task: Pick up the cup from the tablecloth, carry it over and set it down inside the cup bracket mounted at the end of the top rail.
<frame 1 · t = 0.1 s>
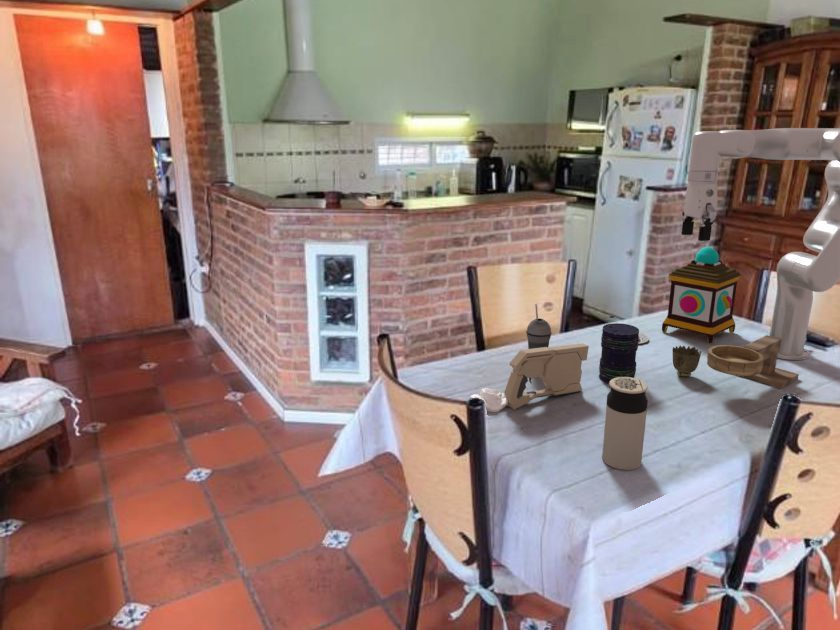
hand: (695, 237, 170), 37 cm above the table, tool pointing down, fingers open, 9 cm apart
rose: (489, 404, 153), on the table, touching gun
storage jar: (616, 379, 167), on the table
cup: (683, 376, 167), on the table
beige low round piece: (629, 340, 198), on the table
travel mug: (621, 461, 126), on the table
rail cup bracket: (729, 394, 155), on the table
gun: (546, 398, 156), on the table, touching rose
decorative lantern: (697, 333, 202), on the table
beverage cup: (537, 369, 175), on the table
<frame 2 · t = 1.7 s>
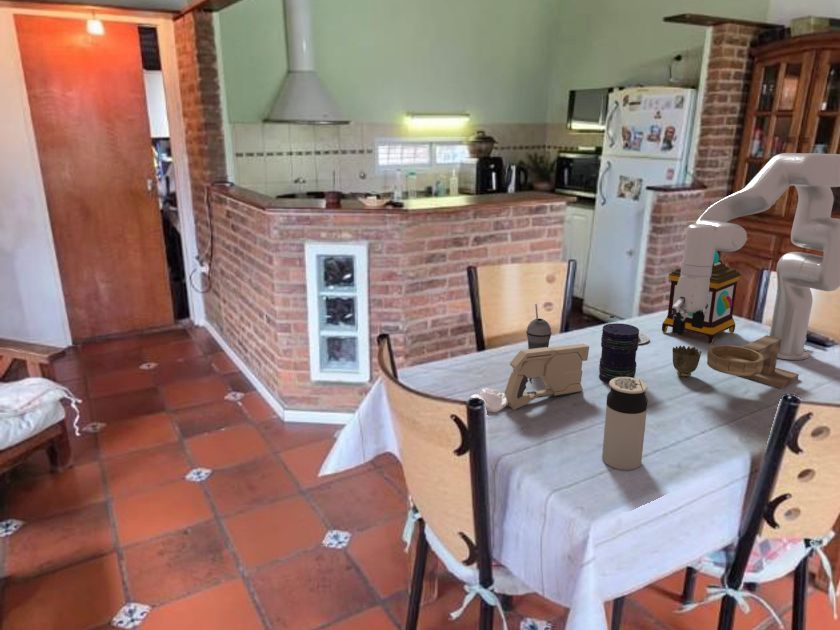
hand: (687, 330, 163), 14 cm above the table, tool pointing down, fingers open, 9 cm apart
nothing on the table moved.
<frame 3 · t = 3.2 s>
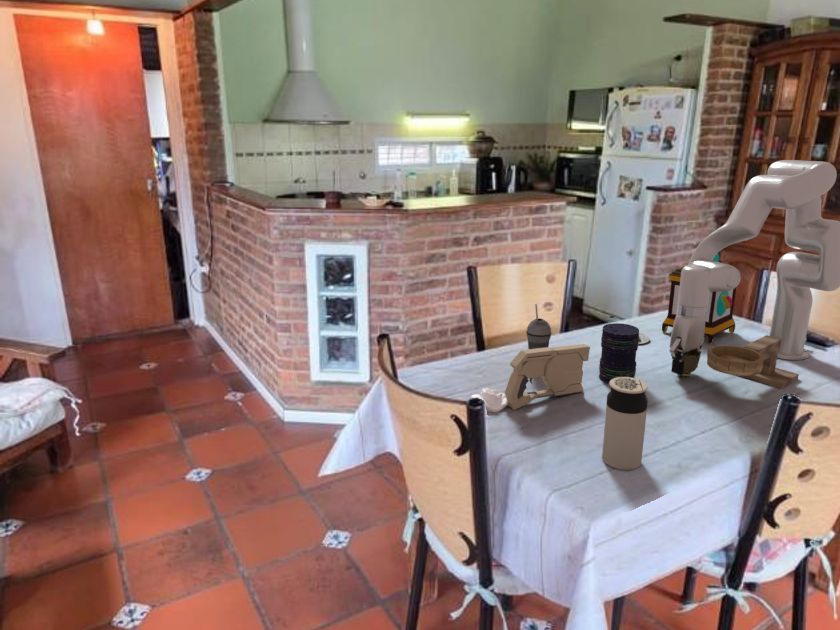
hand: (684, 369, 167), 2 cm above the table, tool pointing down, fingers closed on cup, 6 cm apart
cup: (683, 376, 167), on the table, touching gripper
everything else where it was.
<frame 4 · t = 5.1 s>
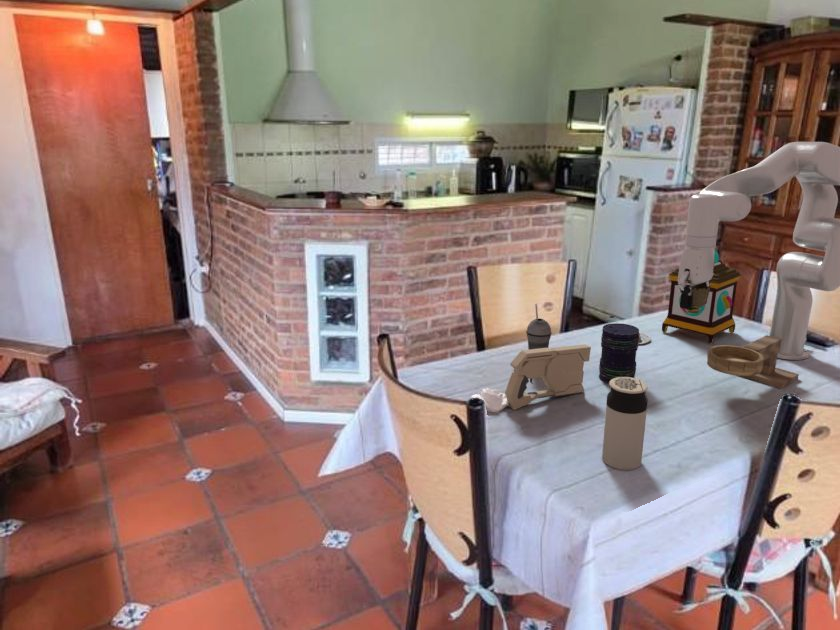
hand: (693, 305, 161), 21 cm above the table, tool pointing down, fingers closed on cup, 6 cm apart
cup: (692, 312, 162), point 19 cm above the table, touching gripper
everything else where it was.
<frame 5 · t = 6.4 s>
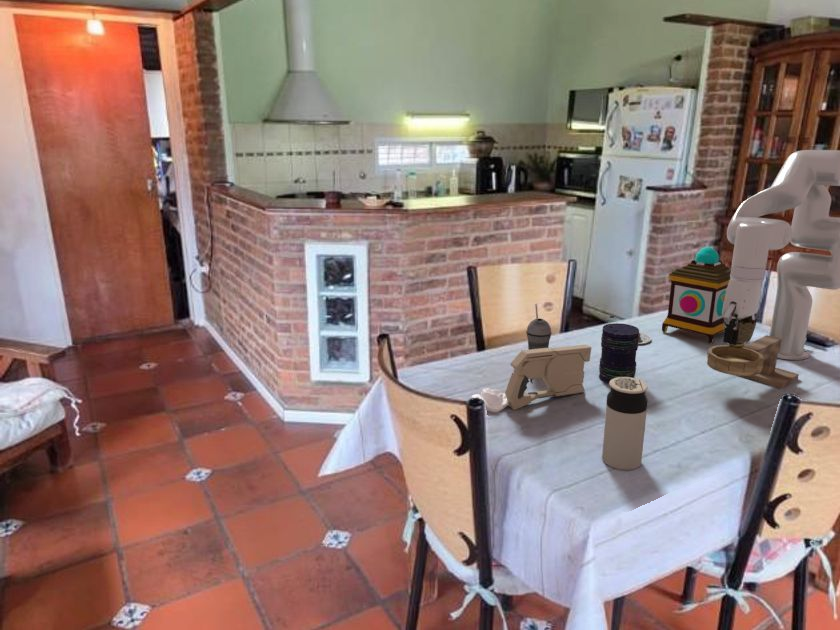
hand: (737, 339, 151), 15 cm above the table, tool pointing down, fingers closed on cup, 6 cm apart
cup: (736, 347, 151), point 13 cm above the table, touching gripper
everything else where it was.
when the fingers open (13 cm above the table, at t = 7.4 s): cup stays where it is, resting on rail cup bracket.
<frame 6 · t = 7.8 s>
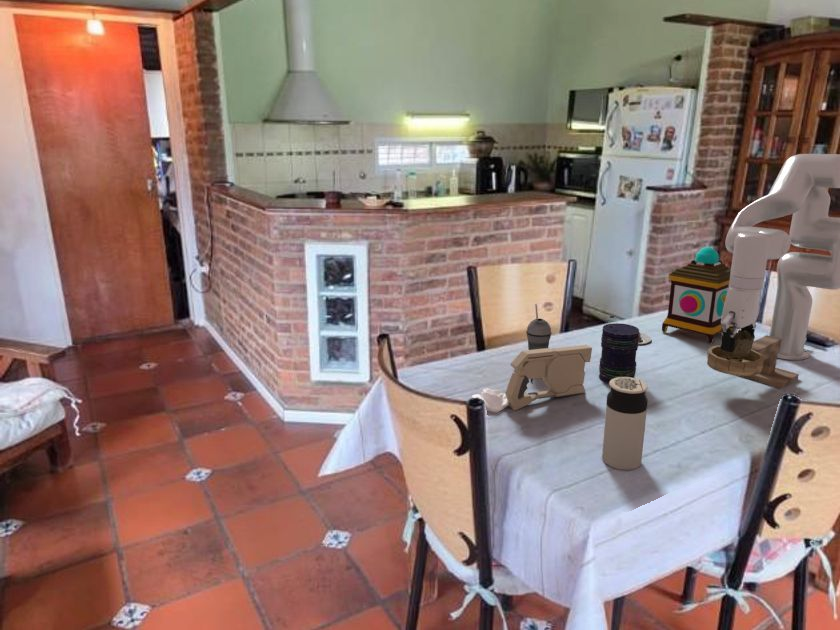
hand: (736, 346, 151), 14 cm above the table, tool pointing down, fingers open, 9 cm apart
cup: (733, 362, 153), point 9 cm above the table, touching rail cup bracket
everything else where it was.
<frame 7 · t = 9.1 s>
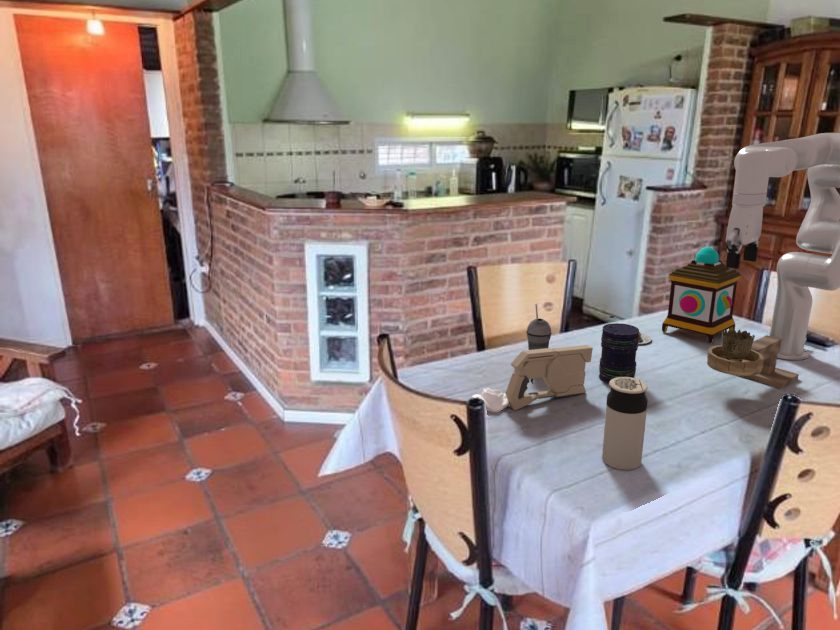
hand: (741, 264, 157), 33 cm above the table, tool pointing down, fingers open, 9 cm apart
nothing on the table moved.
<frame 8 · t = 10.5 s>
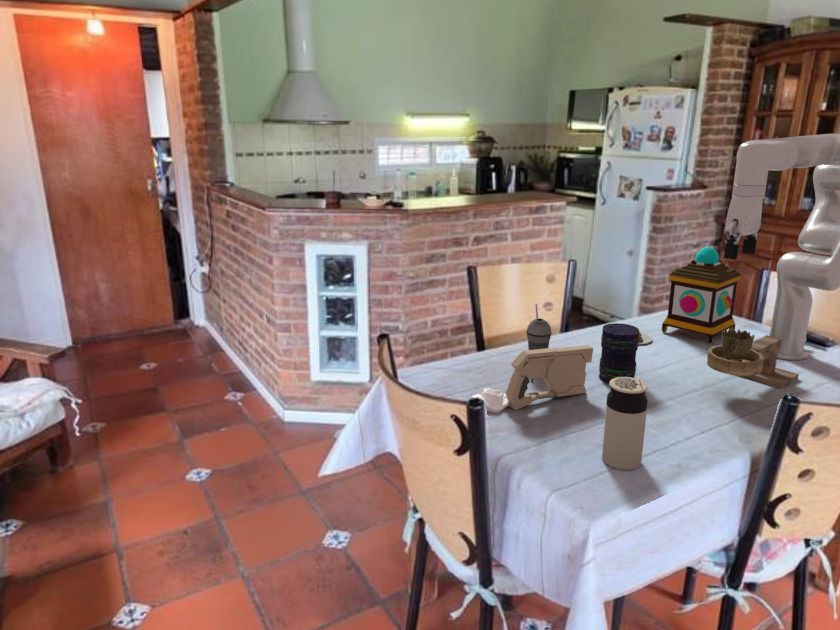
hand: (739, 256, 158), 34 cm above the table, tool pointing down, fingers open, 9 cm apart
at the end: cup 0.2 cm off-centre on the rail cup bracket, point 8.8 cm above the rail cup bracket's base; cup tilted 0°; the gripper is holding nothing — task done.
